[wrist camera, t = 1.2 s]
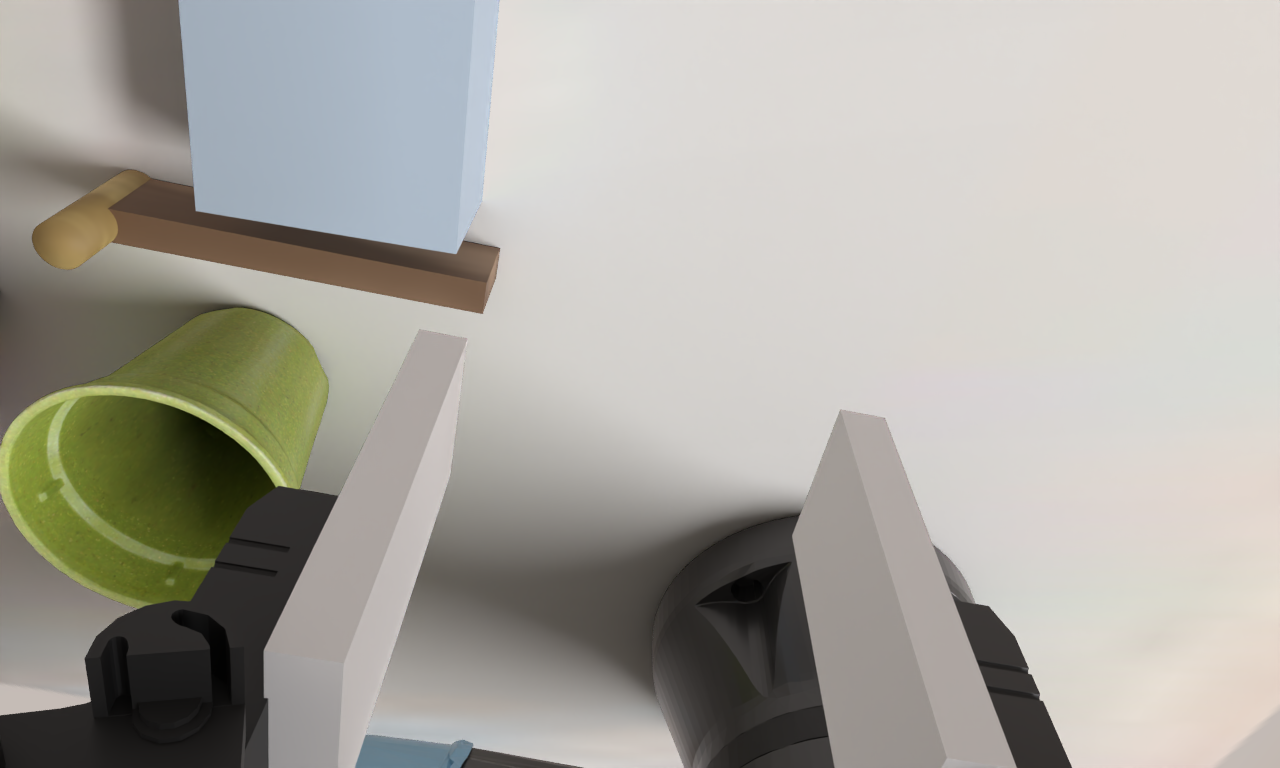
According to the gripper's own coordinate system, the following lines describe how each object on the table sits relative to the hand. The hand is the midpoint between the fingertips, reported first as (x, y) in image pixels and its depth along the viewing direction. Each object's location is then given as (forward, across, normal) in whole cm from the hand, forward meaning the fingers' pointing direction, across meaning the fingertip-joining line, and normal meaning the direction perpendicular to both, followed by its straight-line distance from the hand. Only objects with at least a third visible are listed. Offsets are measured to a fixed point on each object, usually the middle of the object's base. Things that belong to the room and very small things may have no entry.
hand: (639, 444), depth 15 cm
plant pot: (+19, +14, +13) cm, 27 cm away
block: (+19, +10, 0) cm, 21 cm away
